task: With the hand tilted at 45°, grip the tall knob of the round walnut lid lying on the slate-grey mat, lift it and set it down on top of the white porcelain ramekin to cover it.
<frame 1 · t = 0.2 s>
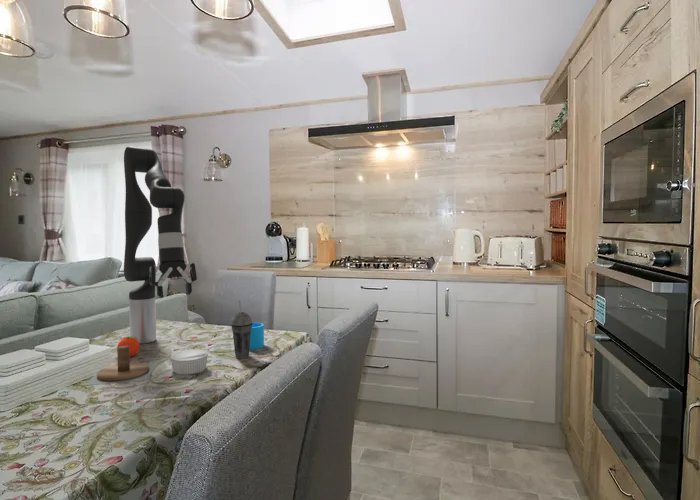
hand: (175, 296, 134), 22 cm above the table, tool pointing down, fingers open, 8 cm apart
slate mat: (124, 374, 125), on the table
mug: (253, 345, 157), on the table
beverage cup: (242, 357, 142), on the table
ramekin: (189, 371, 128), on the table
walnut lid: (123, 373, 124), resting on slate mat
clementine: (129, 357, 142), on the table
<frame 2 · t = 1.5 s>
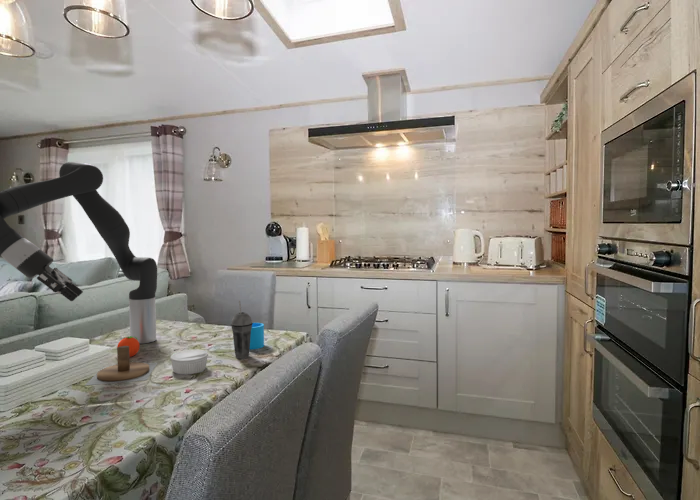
hand: (77, 296, 118), 25 cm above the table, tool tilted 45°, fingers open, 8 cm apart
nothing on the table moved.
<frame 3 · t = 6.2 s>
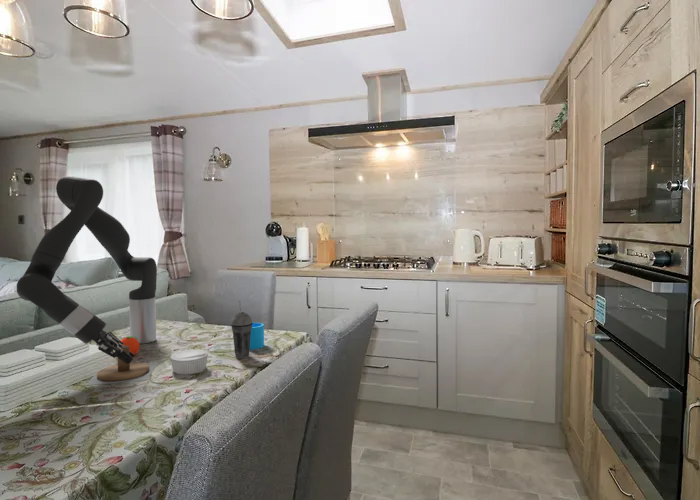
hand: (131, 359, 125), 4 cm above the table, tool tilted 45°, fingers closed on walnut lid, 3 cm apart
walnut lid: (124, 373, 124), point 1 cm above the table, touching gripper, slate mat
everything else where it was.
when the fingers open (10 cm above the table, at t = 11.4 s): walnut lid drops 1 cm, resting on ramekin.
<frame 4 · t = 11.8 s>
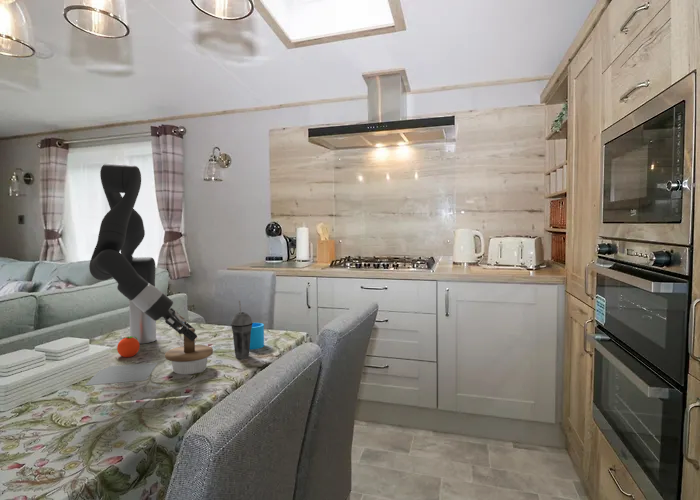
hand: (194, 335, 128), 11 cm above the table, tool tilted 45°, fingers open, 7 cm apart
ramekin: (190, 371, 128), on the table, touching walnut lid
walnut lid: (189, 354, 128), point 5 cm above the table, touching ramekin
everything else where it was.
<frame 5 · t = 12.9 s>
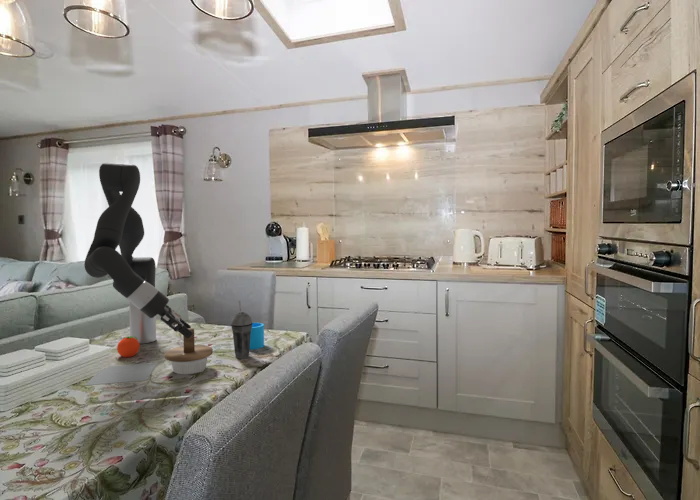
hand: (189, 332, 128), 12 cm above the table, tool tilted 45°, fingers open, 8 cm apart
nothing on the table moved.
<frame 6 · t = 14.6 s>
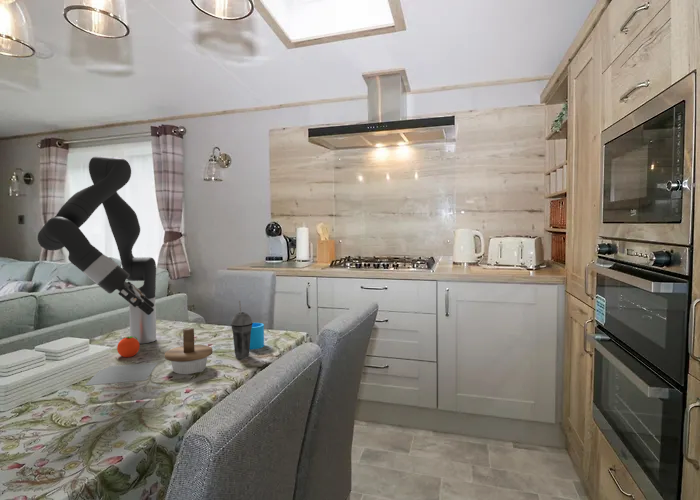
hand: (151, 309, 123), 20 cm above the table, tool tilted 45°, fingers open, 8 cm apart
nothing on the table moved.
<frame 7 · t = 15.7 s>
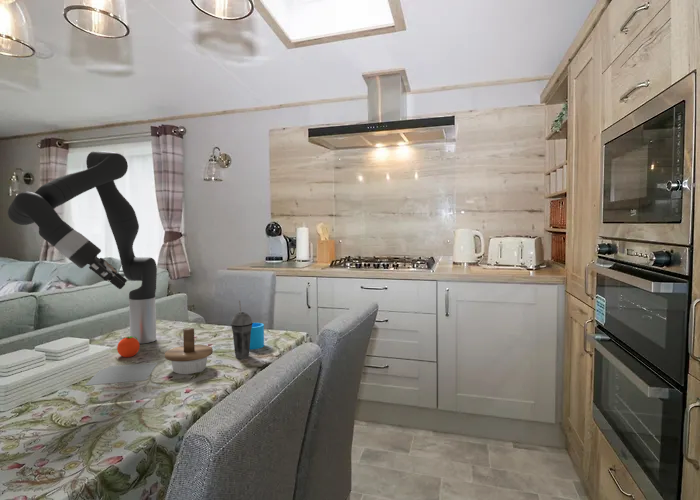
hand: (123, 284, 125), 27 cm above the table, tool tilted 45°, fingers open, 8 cm apart
nothing on the table moved.
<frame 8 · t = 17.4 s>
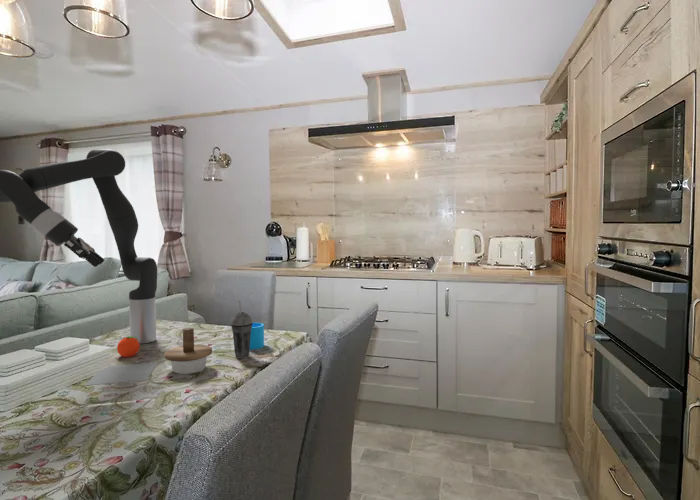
hand: (100, 263, 128), 34 cm above the table, tool tilted 45°, fingers open, 8 cm apart
nothing on the table moved.
at the end: walnut lid 0.1 cm from the ramekin (horizontally); walnut lid point 5.1 cm above the table; walnut lid tilted 0° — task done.
